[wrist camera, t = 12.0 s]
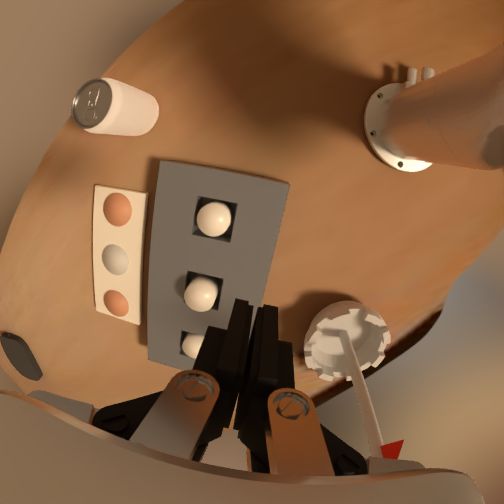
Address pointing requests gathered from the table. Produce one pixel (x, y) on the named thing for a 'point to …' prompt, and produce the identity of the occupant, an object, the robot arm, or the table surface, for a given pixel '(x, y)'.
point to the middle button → (201, 293)
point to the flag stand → (351, 357)
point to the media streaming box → (20, 356)
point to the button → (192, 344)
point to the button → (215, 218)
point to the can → (114, 108)
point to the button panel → (207, 251)
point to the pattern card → (119, 251)
